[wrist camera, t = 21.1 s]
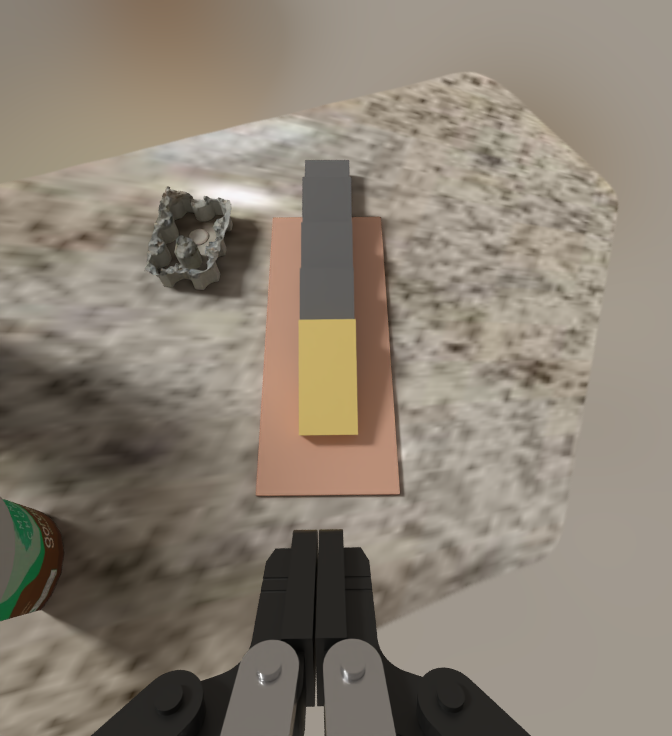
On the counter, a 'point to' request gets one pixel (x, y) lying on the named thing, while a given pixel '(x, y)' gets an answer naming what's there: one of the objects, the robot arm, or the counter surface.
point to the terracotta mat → (281, 380)
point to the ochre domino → (327, 377)
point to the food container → (27, 559)
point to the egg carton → (187, 239)
